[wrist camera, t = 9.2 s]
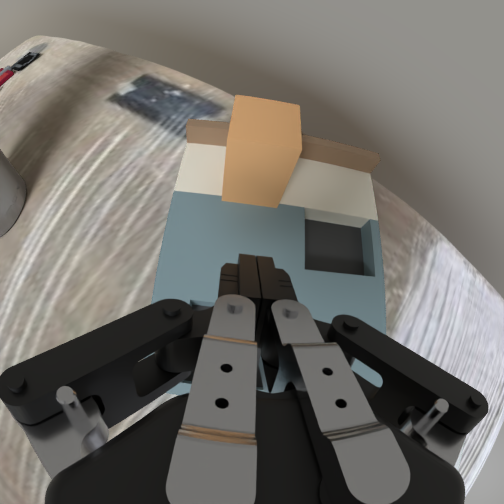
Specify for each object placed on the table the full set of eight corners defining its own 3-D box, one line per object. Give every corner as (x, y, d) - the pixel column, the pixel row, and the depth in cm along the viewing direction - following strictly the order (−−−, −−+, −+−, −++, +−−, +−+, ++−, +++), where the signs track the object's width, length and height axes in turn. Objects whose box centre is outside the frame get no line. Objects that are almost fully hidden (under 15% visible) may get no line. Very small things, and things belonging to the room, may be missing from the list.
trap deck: (148, 385, 20) (132, 392, 16) (190, 151, 29) (188, 118, 25) (369, 394, 22) (400, 398, 18) (359, 178, 31) (378, 153, 27)
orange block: (221, 200, 25) (227, 138, 17) (228, 158, 26) (235, 94, 19) (277, 208, 25) (302, 150, 18) (278, 165, 27) (299, 105, 19)
